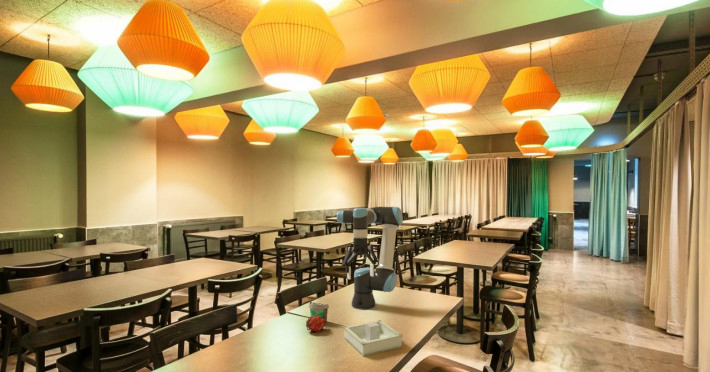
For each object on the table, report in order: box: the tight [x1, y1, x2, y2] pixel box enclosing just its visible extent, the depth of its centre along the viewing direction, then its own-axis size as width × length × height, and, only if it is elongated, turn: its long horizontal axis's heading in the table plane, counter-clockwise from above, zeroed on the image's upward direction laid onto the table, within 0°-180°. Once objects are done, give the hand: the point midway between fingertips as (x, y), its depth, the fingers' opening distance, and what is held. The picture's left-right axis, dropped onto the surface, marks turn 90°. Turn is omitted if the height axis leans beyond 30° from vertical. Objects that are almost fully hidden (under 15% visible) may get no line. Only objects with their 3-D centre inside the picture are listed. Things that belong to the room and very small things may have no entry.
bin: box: [343, 320, 404, 357], centre depth 163 cm, size 21×21×6 cm
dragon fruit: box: [305, 316, 327, 333], centre depth 178 cm, size 8×8×12 cm
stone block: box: [364, 321, 380, 341], centre depth 163 cm, size 5×5×8 cm
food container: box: [308, 300, 329, 323], centre depth 190 cm, size 12×6×10 cm, turn 62°
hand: (360, 277), depth 181 cm, fingers open, 13 cm apart
